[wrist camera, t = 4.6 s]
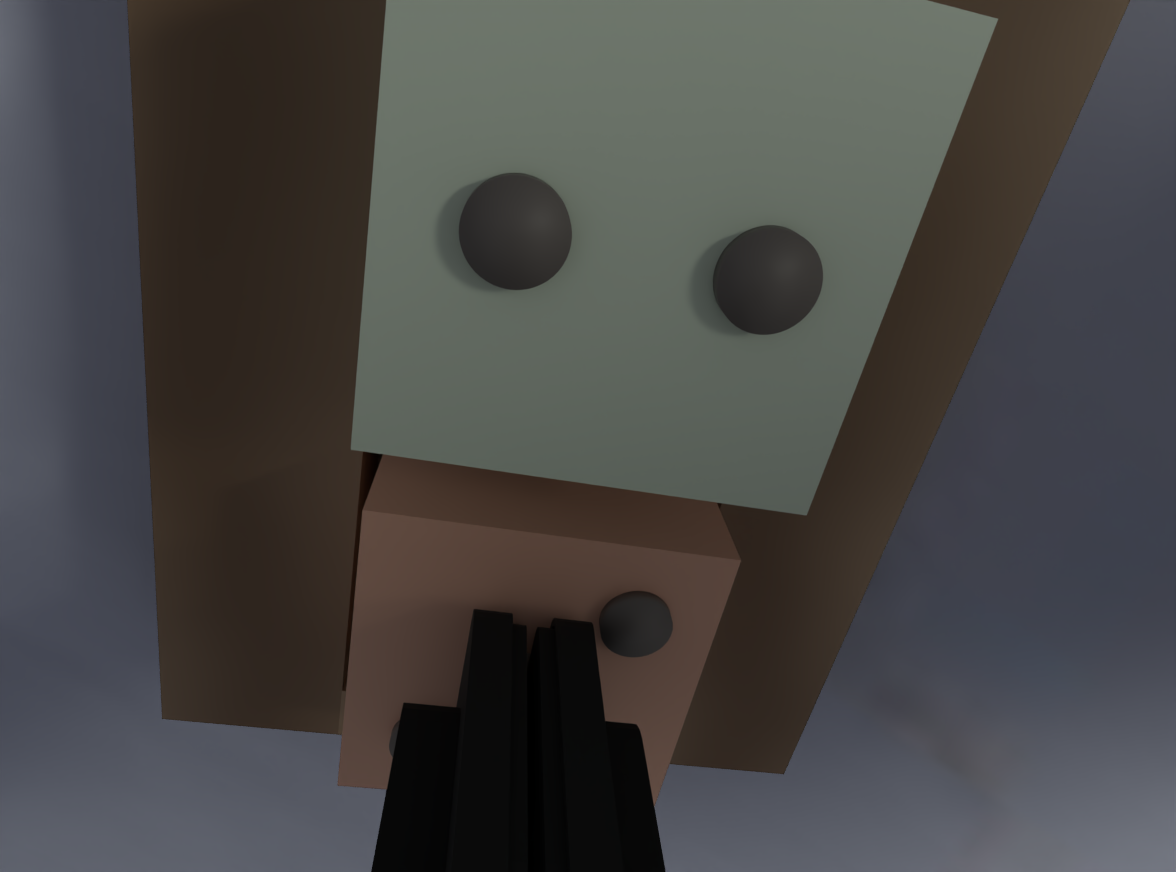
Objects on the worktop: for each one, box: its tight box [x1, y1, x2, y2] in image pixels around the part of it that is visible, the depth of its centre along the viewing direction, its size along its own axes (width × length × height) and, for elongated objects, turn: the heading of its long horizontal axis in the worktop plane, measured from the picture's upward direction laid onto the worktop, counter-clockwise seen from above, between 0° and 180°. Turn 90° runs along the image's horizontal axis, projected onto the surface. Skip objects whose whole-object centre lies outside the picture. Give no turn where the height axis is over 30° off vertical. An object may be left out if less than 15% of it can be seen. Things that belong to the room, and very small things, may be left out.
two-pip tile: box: [351, 0, 998, 515], centre depth 9 cm, size 5×5×4 cm
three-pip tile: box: [338, 454, 741, 806], centre depth 13 cm, size 5×5×4 cm
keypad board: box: [127, 0, 1130, 774], centre depth 11 cm, size 12×21×2 cm, turn 168°
